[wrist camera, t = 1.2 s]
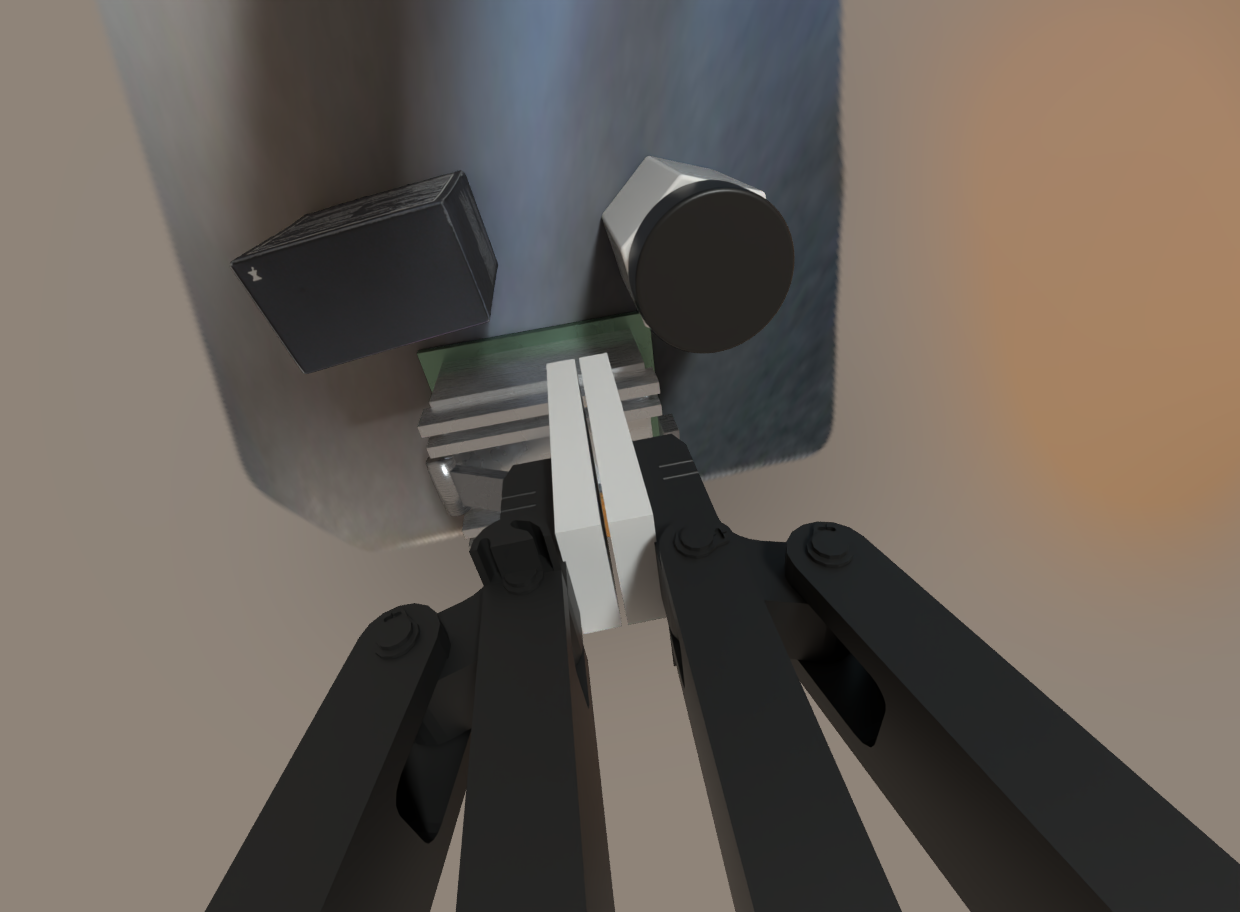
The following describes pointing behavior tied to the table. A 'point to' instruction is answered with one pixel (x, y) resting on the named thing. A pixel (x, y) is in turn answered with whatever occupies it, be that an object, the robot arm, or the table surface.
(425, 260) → the small box
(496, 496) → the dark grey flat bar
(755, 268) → the jar
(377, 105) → the table surface
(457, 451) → the heatsink
